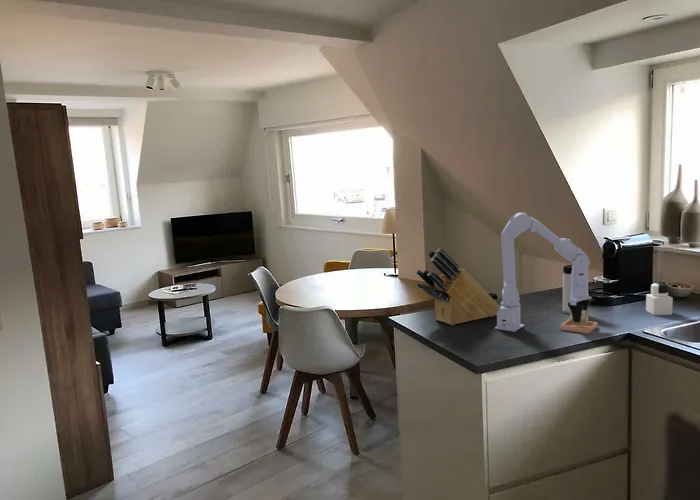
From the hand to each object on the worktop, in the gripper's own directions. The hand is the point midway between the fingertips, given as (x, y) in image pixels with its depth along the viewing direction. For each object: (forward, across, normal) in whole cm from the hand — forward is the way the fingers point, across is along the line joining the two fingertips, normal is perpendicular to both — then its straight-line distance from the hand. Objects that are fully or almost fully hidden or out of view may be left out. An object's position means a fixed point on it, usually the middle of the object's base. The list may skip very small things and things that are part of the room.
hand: (579, 319), depth 203 cm
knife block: (+4, -12, +44) cm, 45 cm away
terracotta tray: (+3, 0, 0) cm, 3 cm away
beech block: (+2, 0, 0) cm, 2 cm away
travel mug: (+4, +21, +10) cm, 24 cm away
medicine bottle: (+4, +37, -19) cm, 42 cm away
